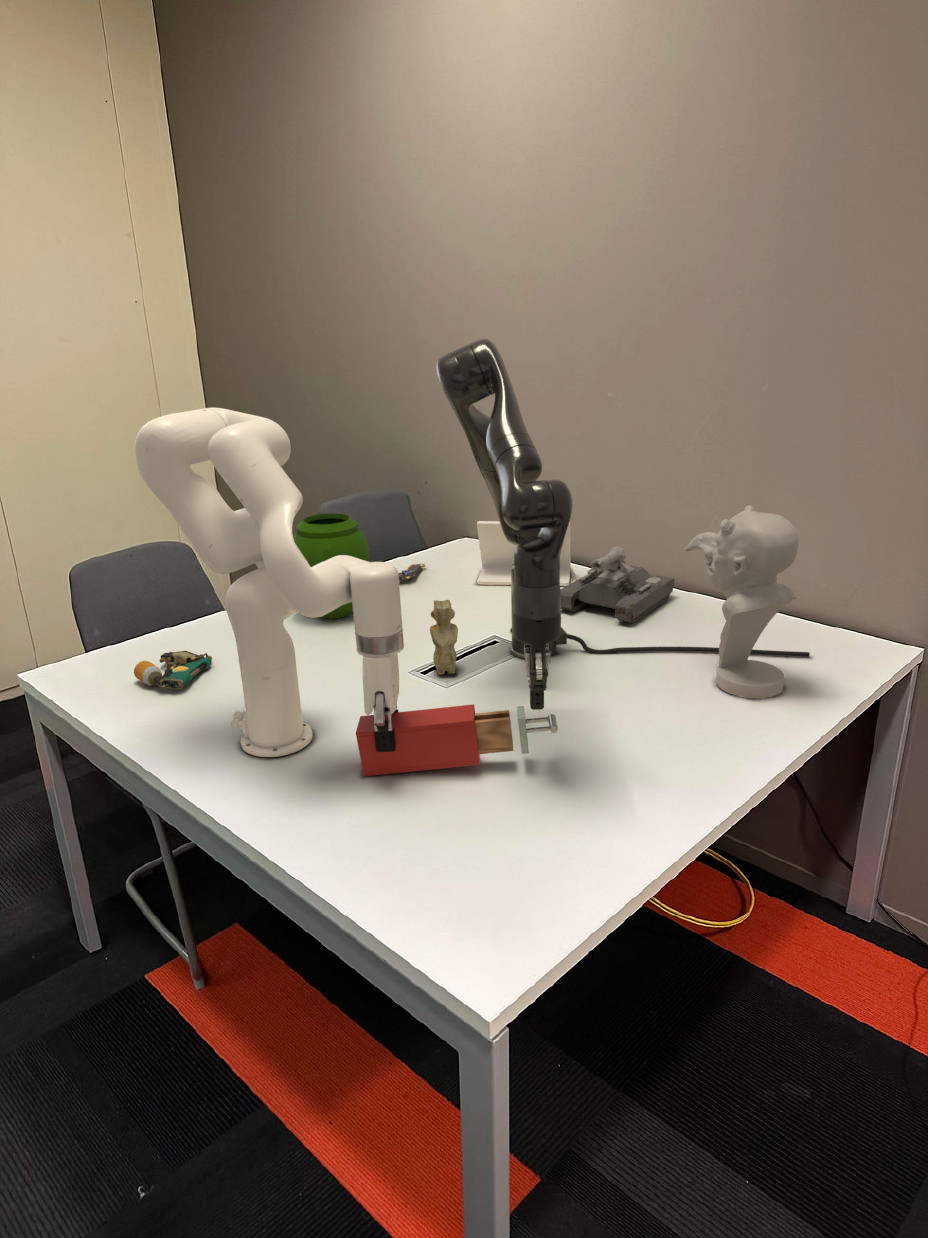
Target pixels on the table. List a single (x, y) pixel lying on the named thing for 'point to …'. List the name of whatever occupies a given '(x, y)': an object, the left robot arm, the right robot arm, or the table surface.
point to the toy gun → (410, 571)
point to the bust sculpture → (748, 593)
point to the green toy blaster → (172, 669)
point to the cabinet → (421, 741)
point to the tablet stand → (509, 555)
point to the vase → (331, 544)
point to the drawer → (506, 730)
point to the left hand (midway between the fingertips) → (388, 740)
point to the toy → (617, 588)
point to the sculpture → (444, 637)
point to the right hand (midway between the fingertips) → (536, 707)
